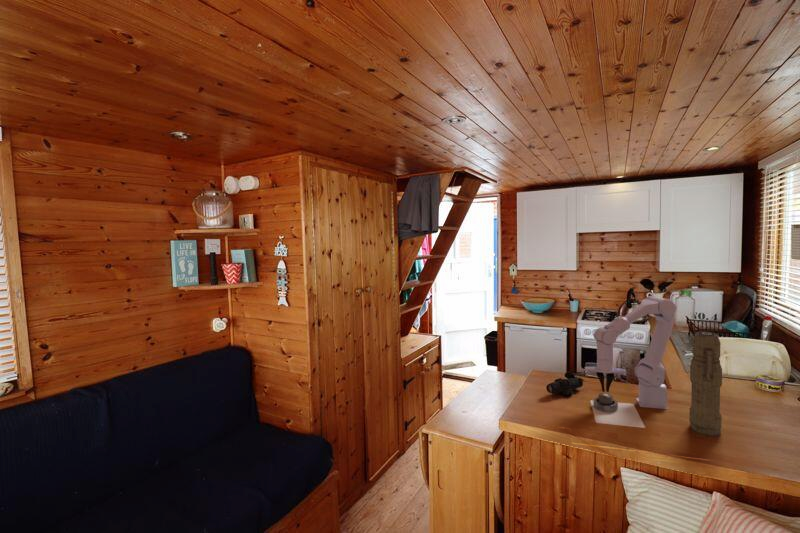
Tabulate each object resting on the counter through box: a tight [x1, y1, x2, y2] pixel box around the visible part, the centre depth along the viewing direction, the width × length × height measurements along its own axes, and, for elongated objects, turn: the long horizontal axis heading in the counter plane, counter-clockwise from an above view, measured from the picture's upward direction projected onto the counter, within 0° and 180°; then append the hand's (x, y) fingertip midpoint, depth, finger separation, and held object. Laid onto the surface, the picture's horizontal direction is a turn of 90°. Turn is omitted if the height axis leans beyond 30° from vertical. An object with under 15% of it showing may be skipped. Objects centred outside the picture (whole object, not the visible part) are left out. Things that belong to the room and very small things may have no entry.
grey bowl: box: [592, 396, 619, 413], centre depth 157 cm, size 8×8×3 cm
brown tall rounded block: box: [688, 330, 723, 438], centre depth 136 cm, size 9×12×35 cm
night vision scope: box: [546, 371, 585, 398], centre depth 173 cm, size 8×18×10 cm
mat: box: [589, 399, 646, 429], centre depth 152 cm, size 16×20×1 cm
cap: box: [598, 392, 614, 405], centre depth 156 cm, size 5×5×5 cm
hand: (605, 390), depth 156 cm, fingers closed
